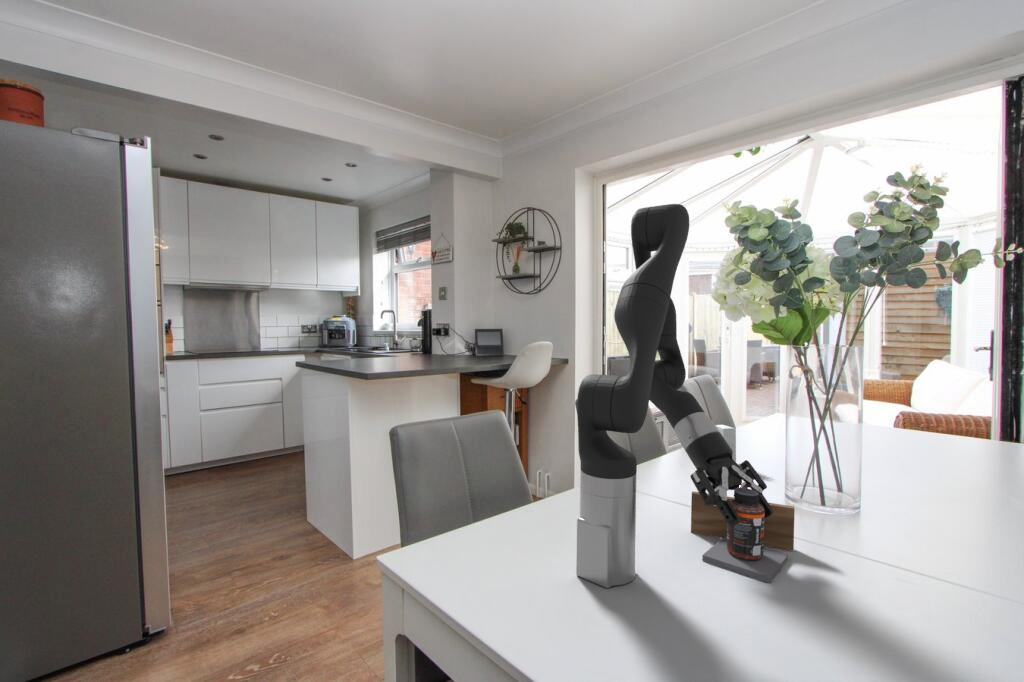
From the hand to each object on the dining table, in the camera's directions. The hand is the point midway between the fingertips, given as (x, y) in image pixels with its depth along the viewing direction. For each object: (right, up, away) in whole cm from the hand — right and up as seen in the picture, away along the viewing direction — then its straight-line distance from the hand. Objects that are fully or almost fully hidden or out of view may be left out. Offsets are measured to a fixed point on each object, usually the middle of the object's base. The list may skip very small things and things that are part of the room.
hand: (753, 519), depth 85 cm
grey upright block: (+21, -7, +60) cm, 64 cm away
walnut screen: (+2, -8, +10) cm, 12 cm away
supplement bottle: (-1, -7, +2) cm, 7 cm away
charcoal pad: (-1, -8, +1) cm, 8 cm away
